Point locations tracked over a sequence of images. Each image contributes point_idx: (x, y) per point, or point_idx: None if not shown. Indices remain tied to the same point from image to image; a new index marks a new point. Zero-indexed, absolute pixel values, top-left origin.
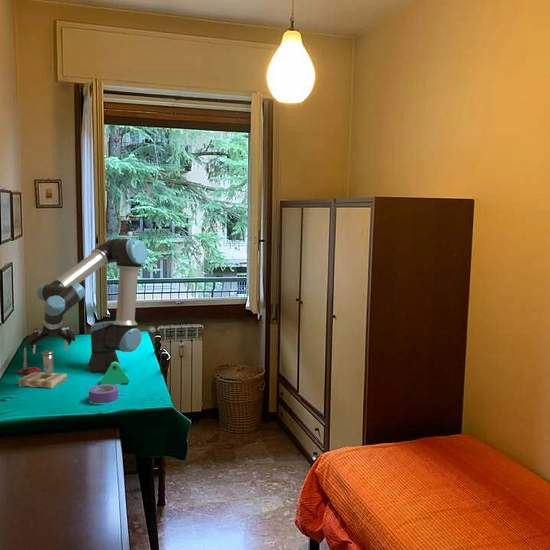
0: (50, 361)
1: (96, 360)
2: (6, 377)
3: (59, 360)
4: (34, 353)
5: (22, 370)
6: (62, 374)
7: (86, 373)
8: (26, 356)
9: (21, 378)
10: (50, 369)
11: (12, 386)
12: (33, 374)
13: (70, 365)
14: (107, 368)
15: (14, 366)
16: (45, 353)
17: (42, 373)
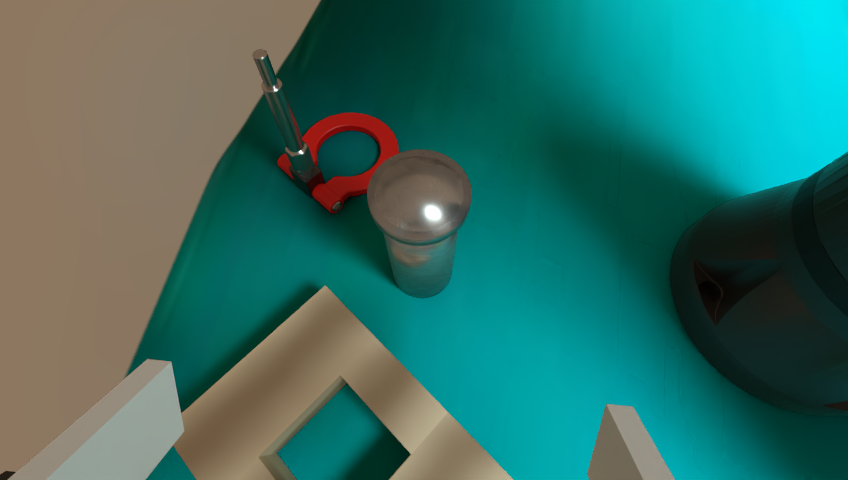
0: (430, 261)
1: (799, 349)
2: (208, 204)
3: (522, 50)
4: (175, 434)
5: (292, 174)
6: (484, 475)
7: (655, 368)
8: (291, 115)
9: (190, 412)
10: (428, 284)
11: None
12: (295, 348)
13: (567, 151)
14: (838, 414)
15: (307, 51)
16: (388, 227)
17: (355, 358)
